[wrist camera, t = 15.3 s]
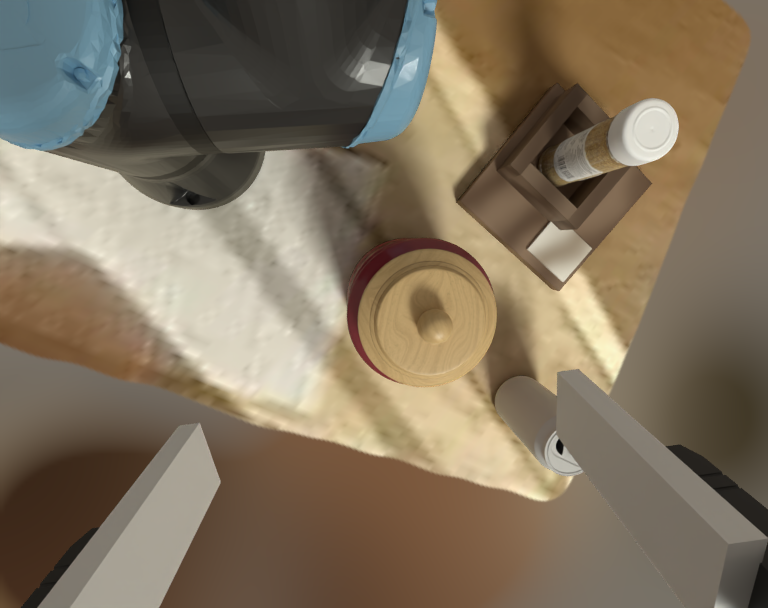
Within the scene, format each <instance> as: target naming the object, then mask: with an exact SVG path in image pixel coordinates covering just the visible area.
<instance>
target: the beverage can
mask: <svg viewBox="0 0 768 608" xmlns="http://www.w3.org/2000/svg"><path fill="white" fill-rule="evenodd" d="M495 408H496V411H497V413H498V414H499V416H500V417H501V418H502V419H503V420H504V422H505V423H506V424H507V425H508V426H509V427H510V429H511V430H512V431H513V432H514V433H515V434H516V436H517V437H518V438H519V439H520V440H521V441H522V442H523V444H524V445H525V446H526V447H527V448H528V449H529V451H530V452H531V453H532V454H533V455H534V456H535V458H536V459H537V460H538V461H539V462H540V463H541V464H542V465H543V466H544V467H546V468H547V469H549V470H552V471H553V472H555V473H557V474H559V475H563V476H573V475H577V474H580V473H582V472H584V471H583V470H582V469H581V467H580V466H579V465H578V463H577V462H576V461H575V459H574V458H573V457H572V455H571V454H570V453H569V451H568V450H567V449H566V447H565V446H564V444H563V443H562V442H561V440H560V439H559V438H558V436H557V435H556V422H557V396H556V395H555V394H553V393H552V392H551V391H549V390H548V389H547V388H545V387H544V386H543V385H541V384H540V383H539V382H537V381H536V380H534V379H533V378H531V377H528V376H516V377H513V378H510V379H508V380H507V381H505V382H504V383H503V384H502V385H501V386H500V387H499V389H498V391H497V393H496V396H495Z"/></svg>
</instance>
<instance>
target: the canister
mask: <svg viewBox="0 0 768 608" xmlns="http://www.w3.org/2000/svg"><path fill="white" fill-rule="evenodd" d="M496 323H497V308H496V301H495V297H494V293H493V289H492V286H491V283H490V281H489V278H488V276H487V274H486V273H485V271H484V269H483V268H482V267H481V265H480V264H479V263H478V262H477V261H476V259H475V258H474V257H472V256H471V255H470V254H469V253H468V252H466V251H465V250H463V249H462V248H460V247H458V246H457V245H454V244H452V243H450V242H447V241H443V240H440V239H434V238H402V239H394V240H390V241H387V242H384V243H382V244H380V245H378V246H376V247H374V248H373V249H371V250H370V251H369V252H368V253H366V254H365V255H364V256H363V257H362V259H361V260H360V261H359V262H358V264H357V265H356V267H355V269H354V270H353V272H352V275H351V278H350V281H349V285H348V291H347V324H348V330H349V333H350V337H351V340H352V342H353V345H354V347H355V348H356V350H357V352H358V354H359V355H360V356H361V358H362V359H363V360H364V361H365V363H366V364H367V365H368V366H369V367H371V368H372V369H373V370H374V371H375V372H377V373H378V374H380V375H381V376H383V377H385V378H387V379H389V380H392V381H394V382H398V383H401V384H406V385H410V386H415V387H434V386H440V385H444V384H447V383H450V382H452V381H455V380H457V379H459V378H460V377H462V376H464V375H465V374H466V373H468V372H469V371H470V370H472V369H473V368H474V367H475V366H476V365H477V364H478V363H479V362H480V360H481V359H482V358H483V357H484V355H485V354H486V352H487V350H488V348H489V346H490V344H491V342H492V340H493V337H494V333H495V329H496Z"/></svg>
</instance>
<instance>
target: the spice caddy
mask: <svg viewBox="0 0 768 608" xmlns="http://www.w3.org/2000/svg"><path fill="white" fill-rule="evenodd" d="M608 119H610V118H609V117H608V116H607V115H606V114H605V113H604V111H603V110H602V109H601V108H600V107H599V106H598V105H597V104H596V103H595V102H594V101H593V100H592V98H591V97H590V96H589V95H588V94H587V93H586V92H585V91H584V90H583V89H582V88H581V87H580V86H579V84H578V83H577V84H576V85H574V86H573V87H571V88H570V89H568V90H567V91H565V90H564V89H563V88H562V87H561V86H560V85H559V84H558V83H556V84H555V85H553V86H552V87H551V88H550V89H549V90H548V91H547V92H546V93H545V95H544V96H543V97H542V98H541V100H540V101H539V102H538V103H537V104H536V106H535V107H534V108H533V109H532V111H531V112H530V113H529V114H528V115H527V117H526V118H525V119H524V120H523V122H522V123H521V124H520V125H519V126H518V128H517V129H516V130H515V131H514V132H513V134H512V135H511V136H510V137H509V139H508V140H507V141H506V142H505V143H504V145H503V146H502V147H501V148H500V150H499V151H498V152H497V153H496V154H495V156H494V157H493V158H492V159H491V161H490V162H489V163H488V164H487V165H486V167H485V168H484V169H483V170H482V172H481V173H480V174H479V175H478V176H477V178H476V179H475V180H474V181H473V183H472V184H471V185H470V186H469V187H468V189H467V190H466V191H465V192H464V194H463V195H462V196H461V197H460V198H459V200H458V201H457V202H456V203H458V204H459V205H460V206H461V207H462V208H463V209H464V210H465V211H466V212H467V213H469V214H470V215H471V216H472V217H473V218H474V219H475V220H476V221H477V222H478V223H480V224H481V225H482V226H483V227H484V228H485V229H486V230H487V231H488V232H489V233H491V234H492V235H493V236H494V237H495V238H496V239H497V240H498V241H499V242H500V243H502V244H503V245H504V246H505V247H506V248H507V249H508V250H509V251H510V252H512V253H513V254H514V255H515V256H516V257H517V258H518V259H519V260H520V261H521V262H523V263H524V264H525V265H526V266H527V267H528V268H529V269H530V270H531V271H532V272H534V273H535V274H536V275H537V276H538V277H539V278H540V279H541V280H542V281H543V282H545V283H546V284H547V285H548V286H549V287H550V288H551V289H553V290H557V291H560V290H561V288H562V287H563V286H564V285H565V284H566V283H567V281H568V280H569V279H570V278H571V277H572V276H573V274H574V273H575V272H576V271H577V270H578V269H579V268H580V266H581V265H582V264H583V263H584V262H585V261H586V259H587V258H588V257H589V256H590V255H591V254H592V252H593V251H594V250H595V249H596V248H597V247H598V245H599V244H600V243H601V242H602V241H603V240H604V239H605V237H606V236H607V235H608V234H609V233H610V232H611V230H612V229H613V228H614V227H615V226H616V225H617V223H618V222H619V221H620V220H621V219H622V218H623V217H624V215H625V214H626V213H627V212H628V211H629V210H630V208H631V207H632V206H633V205H634V204H635V203H636V201H637V200H638V199H639V198H640V197H641V196H642V195H643V193H644V192H645V191H646V190H647V189H648V188H649V186H650V185H651V184H652V183H651V182H650V181H649V180H648V179H647V178H646V176H645V175H644V174H643V173H642V172H641V171H640V170H639V169H638V168H637V167H636V166H626V167H623V168H620V169H617V170H613V171H610V172H606V173H603V174H601V175H598V176H595V177H592V178H588V179H585V180H581V181H575V182H571V183H568V184H567V185H564V186H561V187H555V186H554V185H553V184H552V183H551V182H550V181H549V180H548V179H547V178H546V177H545V176H544V175H543V174H542V173H541V172H540V171H539V170H538V164H539V160H540V157H541V155H542V153H543V152H544V151H545V150H546V149H547V148H549V147H551V146H554V145H557V144H559V143H561V142H563V141H565V140H566V139H568V138H570V137H572V136H574V135H576V134H578V133H580V132H582V131H584V130H587V129H589V128H591V127H593V126H595V125H597V124H599V123H601V122H603V121H606V120H608Z"/></svg>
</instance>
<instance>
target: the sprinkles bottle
mask: <svg viewBox="0 0 768 608" xmlns="http://www.w3.org/2000/svg"><path fill="white" fill-rule="evenodd" d="M678 129H679V124H678V118H677V115H676V113H675V111H674V109H673V108H672V107H671V105H669V104H668V103H667V102H665V101H663V100H661V99H656V98H650V99H645V100H642V101H640V102H637V103H635V104H633V105H631V106H629V107H627V108H625V109H624V110H622V111H621V112H620V113H619V114H617V115H616V116H614V117H612V118H610V119H608V120H606V121H603V122H601V123H599V124H597V125H595V126H593V127H591V128H589V129H587V130H584V131H582V132H580V133H578V134H576V135H574V136H572V137H570V138H568V139H566V140H565V141H563V142H561V143H559V144H557V145H554V146H551V147H549V148H547V149H546V150H545V151H544V152H543V153H542V155H541V157H540V160H539V164H538V170H539V171H540V172H541V173H542V174H543V175H544V176H545V177H546V178H547V179H548V180H549V181H550V182H551V183H552V184H553V185H554V186H555V187H561V186H564V185H567V184H568V183H571V182H575V181H581V180H585V179H588V178H592V177H595V176H598V175H601V174H603V173H606V172H610V171H613V170H617V169H620V168H623V167H626V166H638V165H642V164H645V163H648V162H651V161H654V160H657V159H659V158H661V157H662V156H664V155H665V154H666V153H667V152H669V150H670V149H671V148H672V146H673V145H674V143H675V141H676V138H677V135H678Z"/></svg>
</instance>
